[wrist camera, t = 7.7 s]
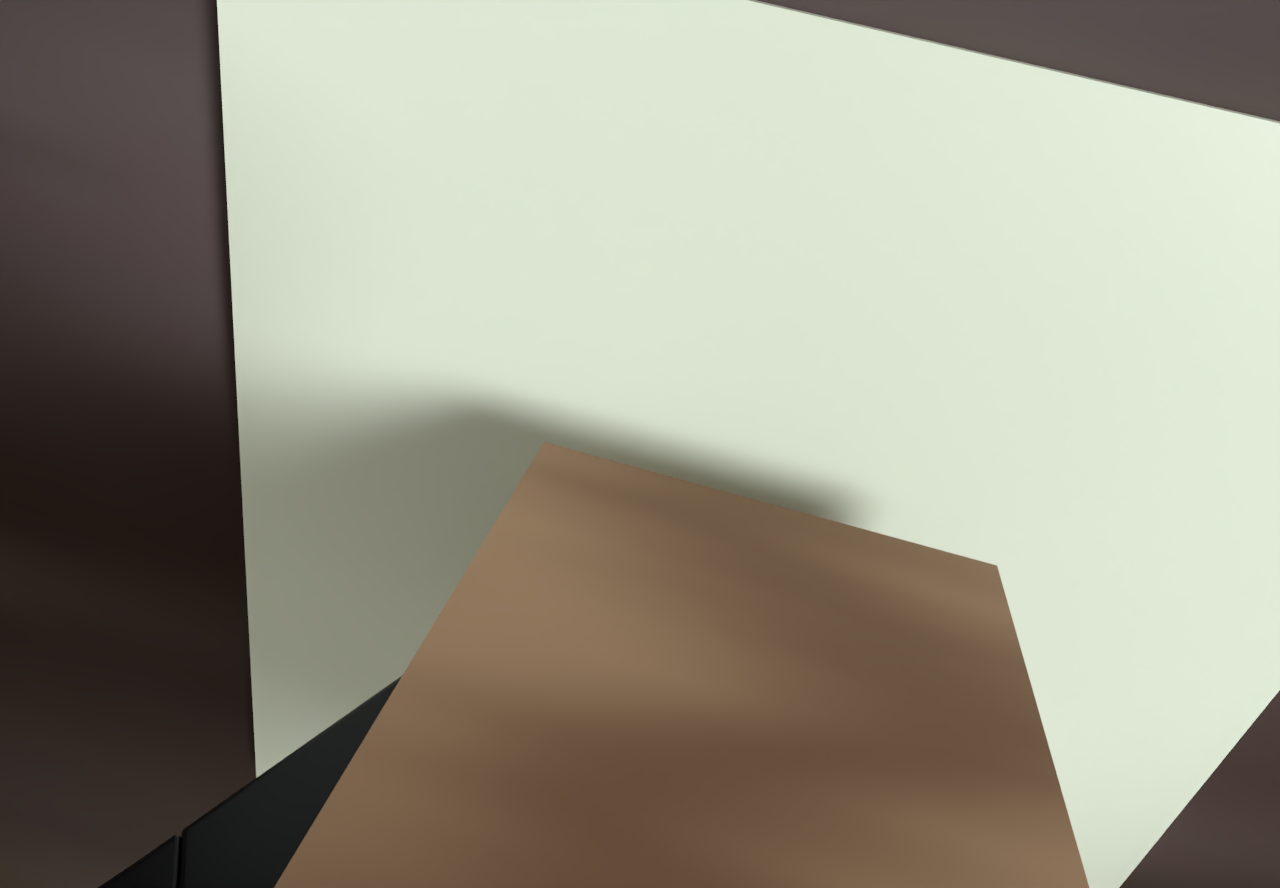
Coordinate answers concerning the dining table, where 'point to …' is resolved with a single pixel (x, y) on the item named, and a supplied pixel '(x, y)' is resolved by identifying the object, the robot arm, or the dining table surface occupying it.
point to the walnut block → (700, 710)
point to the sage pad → (760, 337)
